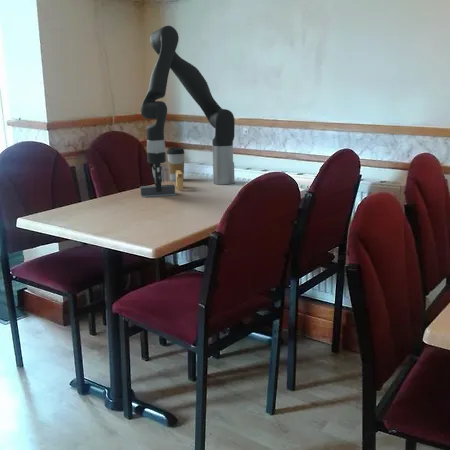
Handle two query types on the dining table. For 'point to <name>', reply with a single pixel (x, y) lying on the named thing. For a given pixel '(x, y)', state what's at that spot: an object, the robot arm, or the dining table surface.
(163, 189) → the dark gray rectangular block
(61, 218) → the dining table surface
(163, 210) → the dining table surface
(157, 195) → the light blue panel
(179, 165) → the coffee cup
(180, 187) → the yellow bent bar
